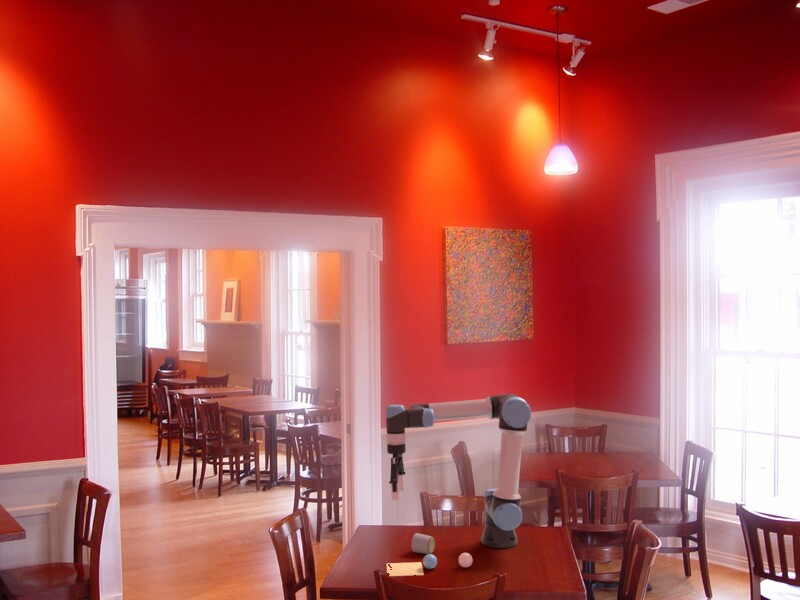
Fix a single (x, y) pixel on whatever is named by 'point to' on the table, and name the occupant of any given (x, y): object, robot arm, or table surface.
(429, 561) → the object ball
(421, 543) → the ceramic mug
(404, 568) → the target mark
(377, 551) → the table surface
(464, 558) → the cue ball
